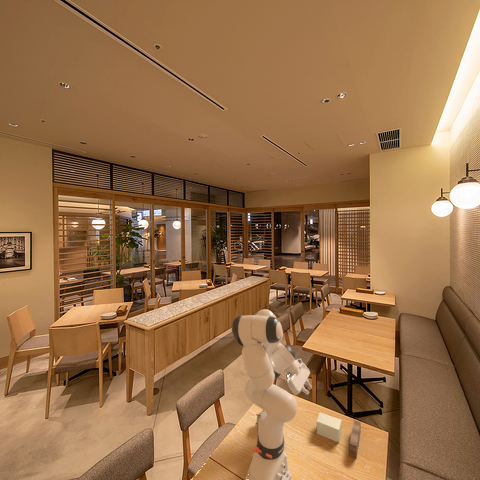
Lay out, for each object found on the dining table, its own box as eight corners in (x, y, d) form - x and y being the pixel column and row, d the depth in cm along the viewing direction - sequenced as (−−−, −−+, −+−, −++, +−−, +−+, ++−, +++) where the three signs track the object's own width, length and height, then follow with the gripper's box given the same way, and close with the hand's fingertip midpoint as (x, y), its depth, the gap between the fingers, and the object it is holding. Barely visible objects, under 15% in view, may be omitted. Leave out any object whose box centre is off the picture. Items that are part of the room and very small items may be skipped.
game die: (262, 430, 136) (262, 408, 142) (274, 432, 131) (274, 409, 137) (251, 430, 131) (252, 407, 137) (264, 432, 126) (264, 409, 131)
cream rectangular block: (339, 443, 123) (339, 429, 122) (316, 433, 129) (316, 421, 128) (341, 432, 129) (341, 420, 128) (320, 424, 135) (319, 412, 134)
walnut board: (356, 458, 115) (356, 446, 114) (349, 455, 116) (349, 443, 116) (360, 432, 128) (360, 422, 128) (354, 430, 130) (354, 419, 129)
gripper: (288, 376, 127) (307, 401, 123) (301, 357, 144) (318, 378, 140) (280, 381, 130) (299, 406, 125) (294, 362, 147) (310, 383, 143)
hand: (309, 391), depth 133 cm, fingers open, 3 cm apart
